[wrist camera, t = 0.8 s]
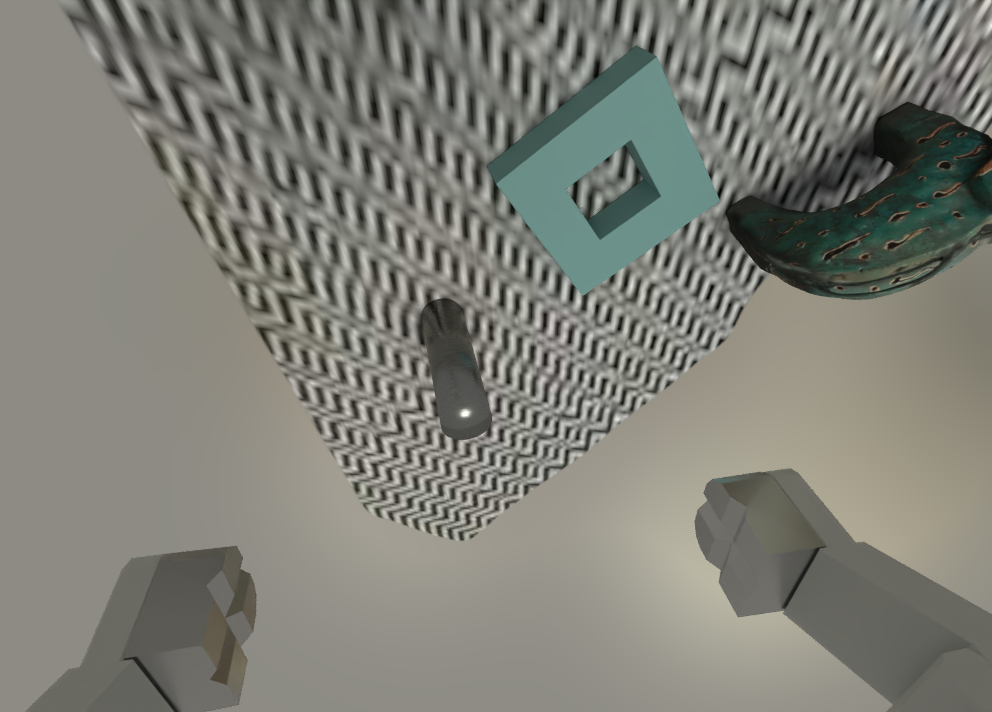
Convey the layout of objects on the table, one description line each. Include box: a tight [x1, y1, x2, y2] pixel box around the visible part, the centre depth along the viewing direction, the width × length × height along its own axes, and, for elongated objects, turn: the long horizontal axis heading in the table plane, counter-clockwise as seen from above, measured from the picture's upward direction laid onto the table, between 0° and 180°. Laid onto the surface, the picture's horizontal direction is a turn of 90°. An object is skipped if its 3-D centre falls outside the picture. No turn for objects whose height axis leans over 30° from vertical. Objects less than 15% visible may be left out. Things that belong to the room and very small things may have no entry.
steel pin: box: [421, 299, 492, 440], centre depth 47 cm, size 4×4×14 cm
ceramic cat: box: [727, 102, 992, 300], centre depth 44 cm, size 20×6×20 cm, turn 119°
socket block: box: [487, 46, 720, 296], centre depth 45 cm, size 14×14×4 cm
